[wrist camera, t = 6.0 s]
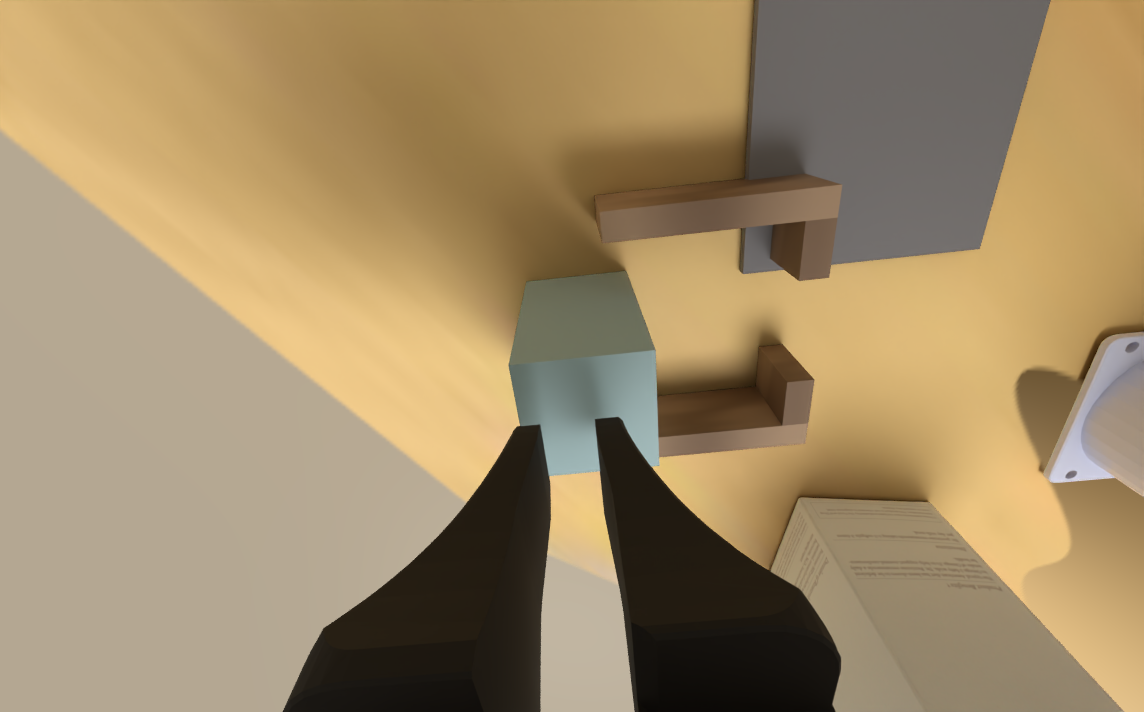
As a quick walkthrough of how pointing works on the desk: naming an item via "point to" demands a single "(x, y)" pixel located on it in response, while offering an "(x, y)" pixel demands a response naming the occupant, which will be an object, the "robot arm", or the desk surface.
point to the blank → (584, 367)
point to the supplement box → (924, 615)
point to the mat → (889, 115)
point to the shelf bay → (797, 246)
